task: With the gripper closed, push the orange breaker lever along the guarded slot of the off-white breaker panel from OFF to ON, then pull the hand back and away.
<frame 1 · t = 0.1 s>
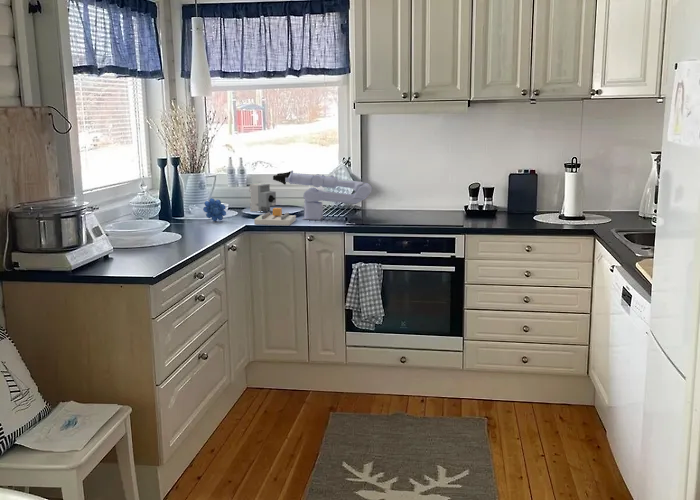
hand: (275, 176, 374), 22 cm above the table, tool horizontal, fingers open, 7 cm apart
circuit breaker: (264, 212, 395), on the table
breaker panel: (275, 222, 366), on the table
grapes: (215, 221, 368), on the table
breaker lever: (277, 211, 369), point 5 cm above the table, slide at 0.0 cm
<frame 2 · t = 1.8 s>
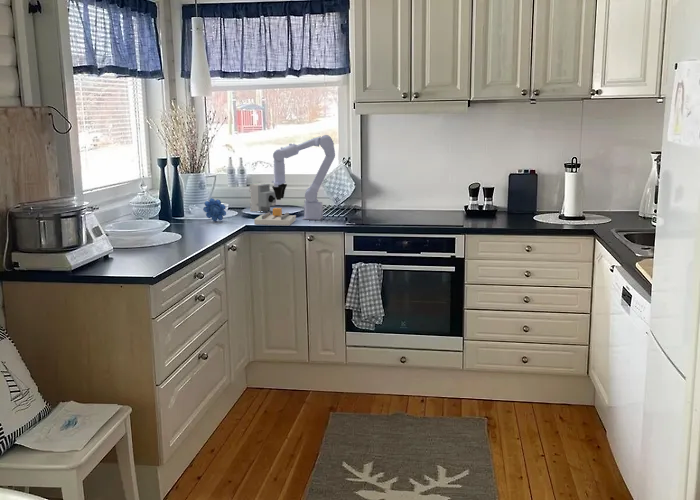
hand: (280, 198, 373), 10 cm above the table, tool pointing down, fingers open, 5 cm apart
nothing on the table moved.
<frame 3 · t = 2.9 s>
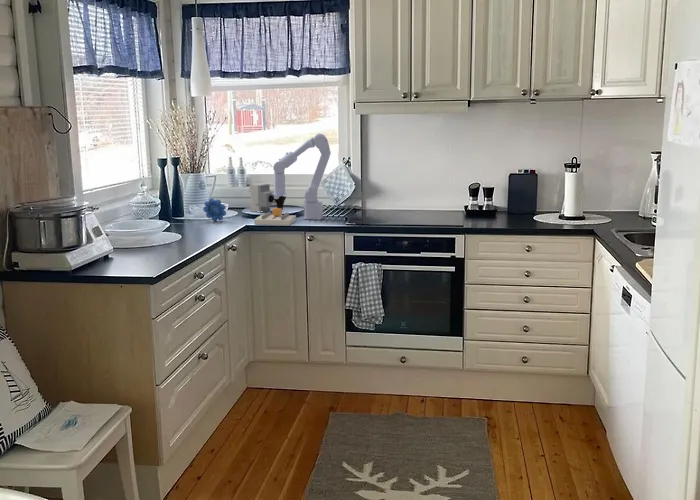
hand: (280, 210, 375), 4 cm above the table, tool pointing down, fingers closed
nothing on the table moved.
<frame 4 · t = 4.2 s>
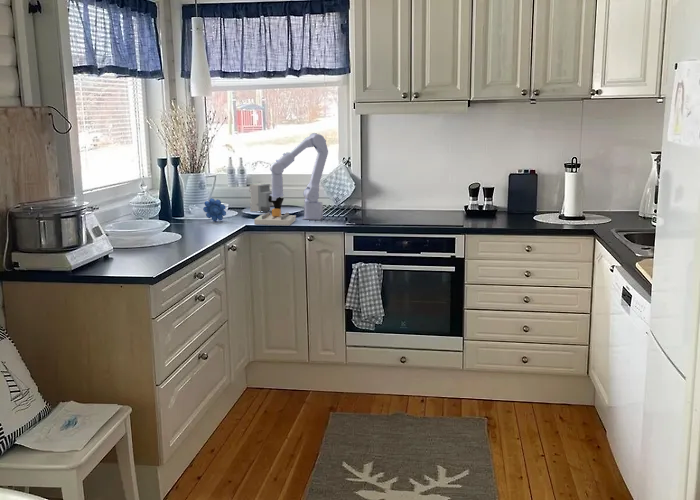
hand: (277, 212, 370), 4 cm above the table, tool pointing down, fingers closed
breaker lever: (276, 212, 368), point 5 cm above the table, slide at 1.6 cm, touching gripper
everything else where it was.
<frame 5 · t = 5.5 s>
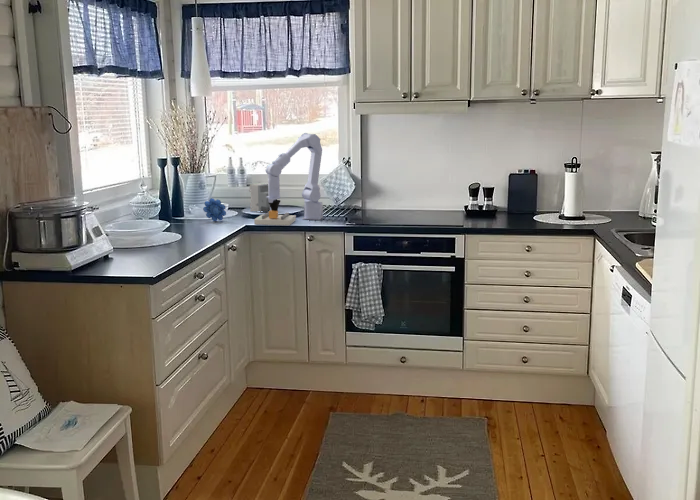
hand: (274, 214, 364), 4 cm above the table, tool pointing down, fingers closed
breaker lever: (273, 214, 362), point 5 cm above the table, slide at 7.3 cm, touching gripper
everything else where it was.
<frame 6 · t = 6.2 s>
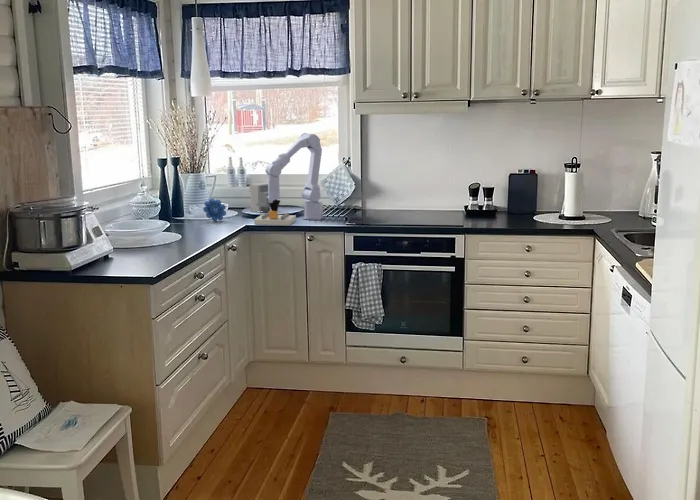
hand: (274, 214, 364), 4 cm above the table, tool pointing down, fingers closed
nothing on the table moved.
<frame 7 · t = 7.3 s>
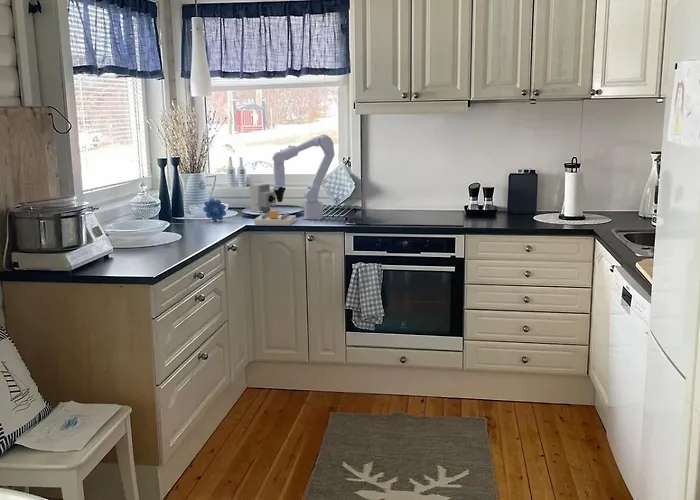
hand: (279, 201, 371), 9 cm above the table, tool pointing down, fingers closed
breaker lever: (273, 214, 362), point 5 cm above the table, slide at 7.1 cm
everything else where it was.
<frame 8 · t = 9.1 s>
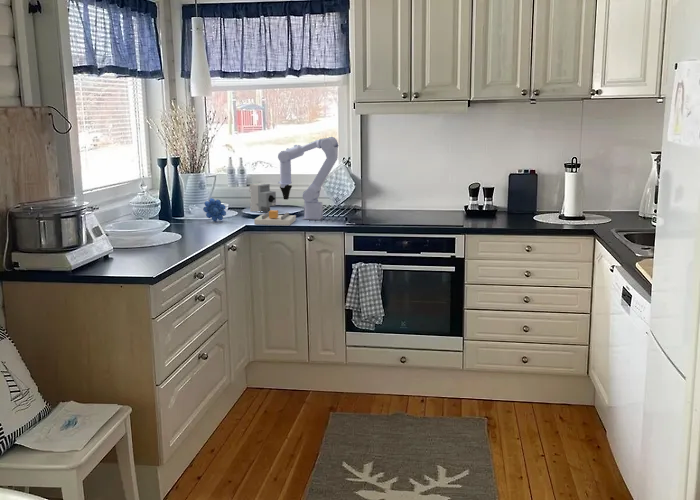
hand: (286, 199, 378), 9 cm above the table, tool pointing down, fingers closed
nothing on the table moved.
at the end: breaker lever slide at 7.1 cm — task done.
